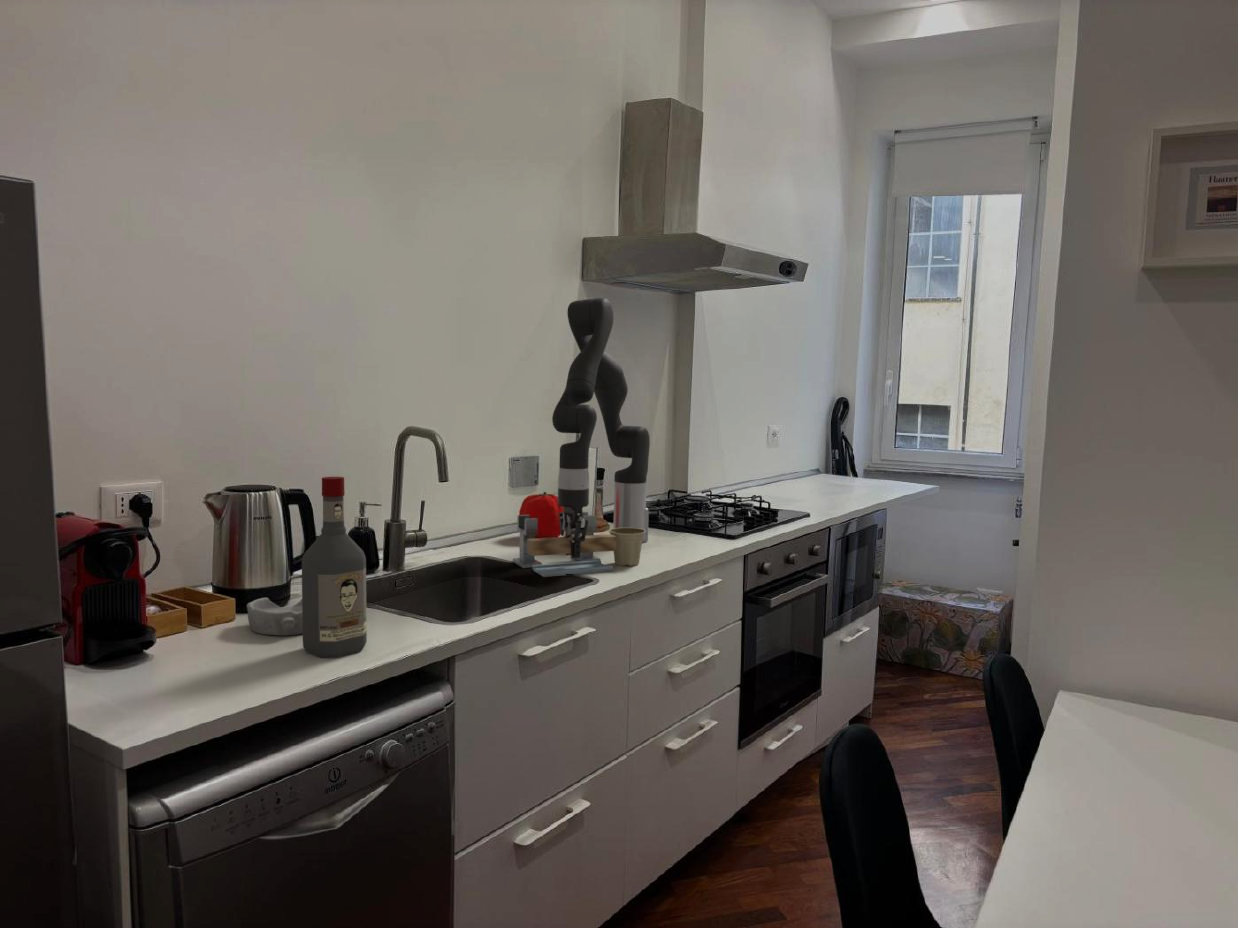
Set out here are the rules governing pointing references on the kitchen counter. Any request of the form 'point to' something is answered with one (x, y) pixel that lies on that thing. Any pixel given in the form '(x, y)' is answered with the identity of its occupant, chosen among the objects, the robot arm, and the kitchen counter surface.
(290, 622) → the dish
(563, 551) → the rail
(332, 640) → the liquor
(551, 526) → the tomato
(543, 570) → the mat
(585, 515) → the rack
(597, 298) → the robot arm
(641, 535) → the flower pot
